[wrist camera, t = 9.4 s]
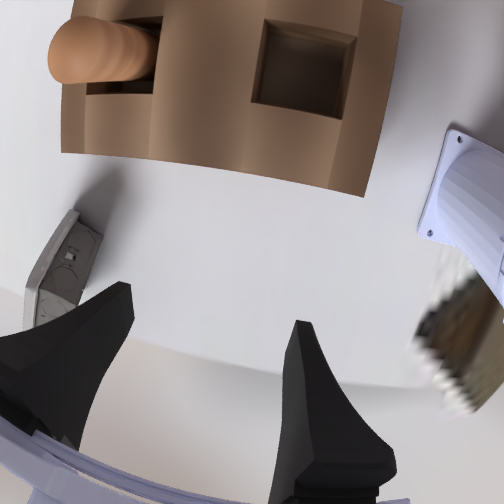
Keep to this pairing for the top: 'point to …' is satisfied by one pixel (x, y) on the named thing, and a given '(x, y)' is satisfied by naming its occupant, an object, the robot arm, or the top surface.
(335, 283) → the top surface
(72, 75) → the peg
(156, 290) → the top surface
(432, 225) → the robot arm
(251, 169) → the socket block
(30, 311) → the electrical switch
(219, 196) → the top surface
